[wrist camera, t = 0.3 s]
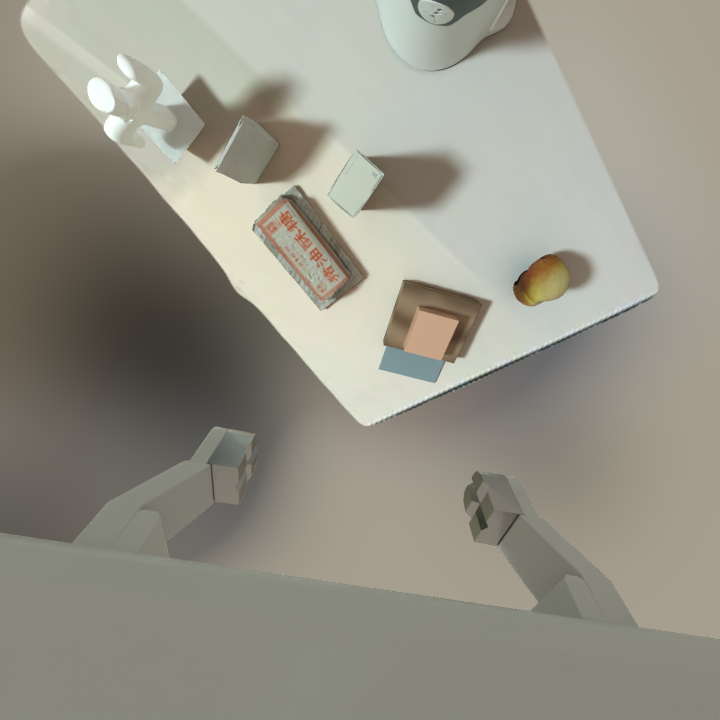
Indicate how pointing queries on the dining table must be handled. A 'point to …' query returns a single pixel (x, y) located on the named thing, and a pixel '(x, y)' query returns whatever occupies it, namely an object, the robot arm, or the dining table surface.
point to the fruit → (542, 281)
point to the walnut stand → (435, 300)
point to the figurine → (146, 109)
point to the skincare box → (355, 184)
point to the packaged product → (306, 248)
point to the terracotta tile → (430, 333)
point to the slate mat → (410, 364)
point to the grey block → (247, 152)
